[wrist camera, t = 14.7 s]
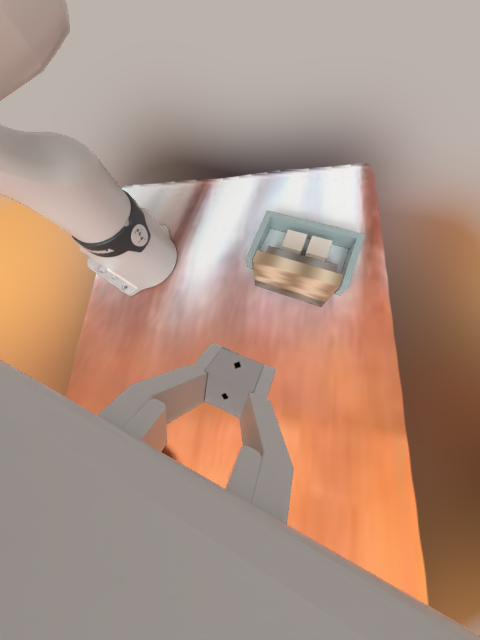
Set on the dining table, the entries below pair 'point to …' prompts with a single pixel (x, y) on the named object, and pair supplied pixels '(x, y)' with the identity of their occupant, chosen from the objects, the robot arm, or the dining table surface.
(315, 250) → the cream block
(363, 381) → the dining table surface
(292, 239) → the cream block
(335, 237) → the tray
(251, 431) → the robot arm
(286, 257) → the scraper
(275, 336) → the dining table surface
